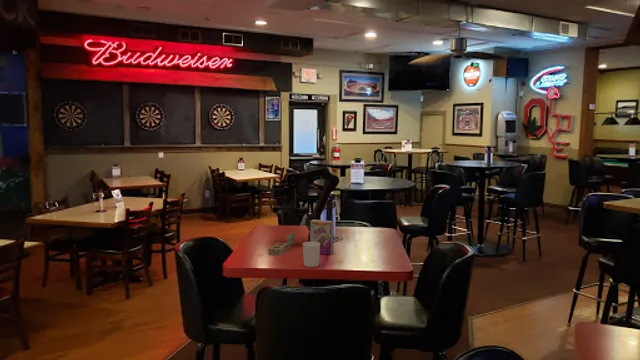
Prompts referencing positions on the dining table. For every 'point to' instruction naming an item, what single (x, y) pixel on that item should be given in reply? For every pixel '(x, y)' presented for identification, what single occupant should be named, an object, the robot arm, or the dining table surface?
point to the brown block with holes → (278, 249)
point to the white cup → (311, 254)
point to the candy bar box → (322, 235)
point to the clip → (290, 239)
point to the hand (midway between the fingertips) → (290, 225)
